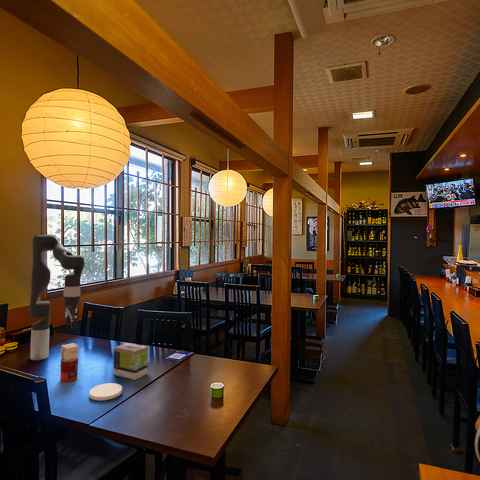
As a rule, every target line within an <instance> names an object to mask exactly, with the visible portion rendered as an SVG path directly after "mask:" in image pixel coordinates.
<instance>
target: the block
mask: <svg viewBox="0 0 480 480" xmlns="http://www.w3.org/2000/svg"><path fill="white" fill-rule="evenodd" d="M60 351H61V352H60V355H61V356H60V357H61V358H63V359H64V360H65V361H66V360H70V359H75V358H78V359H79V345H78V344H77V343H72V342H71V343H68V344H62V345H61V350H60ZM61 358H60V359H61Z"/></svg>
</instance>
